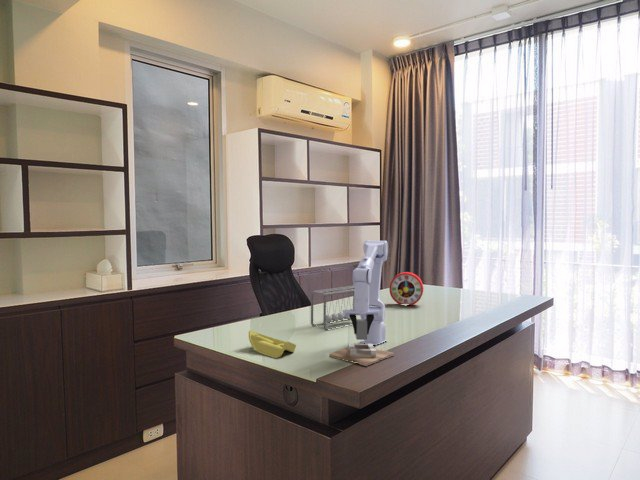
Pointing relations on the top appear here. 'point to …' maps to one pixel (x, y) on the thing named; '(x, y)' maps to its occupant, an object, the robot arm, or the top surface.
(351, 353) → the duct base
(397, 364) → the top surface
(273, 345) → the plastic component
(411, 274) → the toy clock
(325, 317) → the newton's cradle
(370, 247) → the robot arm
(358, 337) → the grey rectangular block
